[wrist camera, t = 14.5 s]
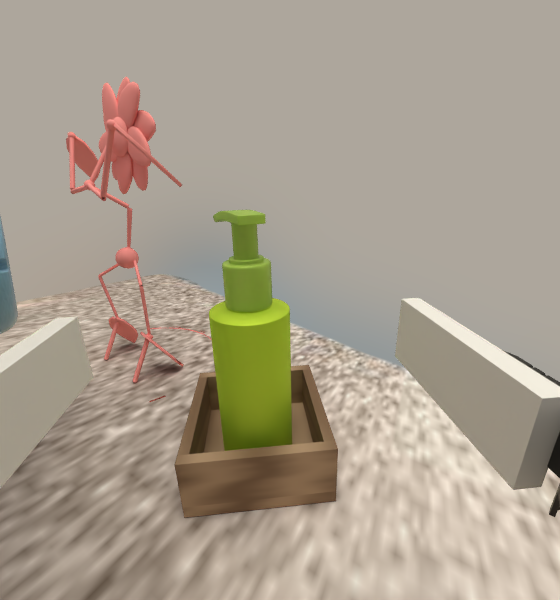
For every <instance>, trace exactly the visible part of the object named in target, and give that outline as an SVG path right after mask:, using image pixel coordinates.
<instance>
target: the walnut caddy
mask: <svg viewBox="0 0 560 600" xmlns="http://www.w3.org/2000/svg"><path fill="white" fill-rule="evenodd" d="M291 408H292V445H282V446H271V447H261V448H250V449H240V450H229V451H224V443H223V434H222V425H221V416H220V408H219V399H218V390H217V381H216V372H210V373H200V376H199V379H198V383H197V387H196V390H195V394H194V397H193V401H192V405H191V408H190V412H189V415H188V419H187V422H186V426H185V430H184V433H183V437H182V440H181V444H180V448H179V451H178V455H177V458H176V462H175V470H176V475H177V480H178V486H179V491H180V496H181V502H182V507H183V512H184V518H186V517H195V516H204V515H213V514H222V513H231V512H240V511H249V510H258V509H267V508H276V507H286V506H295V505H304V504H313V503H322V502H331V501H336V482H337V458H338V448H337V445H336V442H335V439H334V436H333V434H332V431H331V428H330V425H329V422H328V419H327V416H326V413H325V410H324V407H323V404H322V402H321V399H320V396H319V393H318V390H317V387H316V384H315V381H314V378H313V375H312V372H311V370H310V367H309V365H303V366H291Z"/></svg>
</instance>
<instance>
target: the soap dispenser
mask: <svg viewBox="0 0 560 600" xmlns="http://www.w3.org/2000/svg"><path fill="white" fill-rule="evenodd" d="M213 218H214V221H215V222H222V221H228V222H230V223H231V226H232V239H233V251H234V256H232V257H230V258H229V260H227V261H225V262H224V263H223V264H222V268H223V279H224V289H225V301H224V302H221V303H219V304H217V305H215V306H214V307H213V308H212V309H211V310H210V311H209V320H210V328H211V337H212V346H213V355H214V364H215V372H216V381H217V390H218V399H219V408H220V416H221V425H222V434H223V443H224V451H229V450H240V449H250V448H261V447H271V446H282V445H292V408H291V355H290V308H289V306H288V305H287V304H286V303H285V302H283V301H281V300H278V299H274V298H272V281H271V262H270V261H269V260H268V259H266V258H264V257H263V256H262V255H258V239H257V224H264V223H265V214H263V213H260V212H257V211H253V210H233V211H220V212H218V213H216V214H215V215H214V216H213Z"/></svg>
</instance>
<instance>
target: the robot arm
mask: <svg viewBox="0 0 560 600" xmlns="http://www.w3.org/2000/svg"><path fill="white" fill-rule="evenodd" d="M17 317H18V312H17V306H16V300H15V294H14V288H13V282H12V277H11V271H10V265H9V260H8V255H7V249H6V243H5V238H4V232H3V227H2V221H1V216H0V334H1V333H3V332H6V331H7V330H9V329H10V328H11V327H13V325H14V324H15V323H16V321H17ZM395 357H396V358H397V359H398V360H399V361H400V362H401V363H402V365H403V366H404V367H405V368H406V369H407V370H408V371H409V372H410V374H411V375H412V376H413V377H414V378H415V379H416V380H417V382H418V383H419V384H420V385H421V386H422V387H423V388H424V389H425V391H426V392H427V393H428V394H429V395H430V396H431V397H432V399H433V400H434V401H435V402H436V403H437V404H438V405H439V406H440V408H441V409H442V410H443V411H444V412H445V413H446V414H447V416H448V417H449V418H450V419H451V420H452V421H453V422H454V423H455V425H456V426H457V427H458V428H459V429H460V430H461V431H462V432H463V434H464V435H465V436H466V437H467V438H468V439H469V440H470V442H471V443H472V444H473V445H474V446H475V447H476V448H477V449H478V451H479V452H480V453H481V454H482V455H483V456H484V457H485V459H486V460H487V461H488V462H489V463H490V464H491V465H492V466H493V468H494V469H495V470H496V471H497V472H498V473H499V474H500V476H501V477H502V478H503V479H504V480H505V481H506V482H507V483H508V485H509V486H510V487H511V488H512V489H513V490H516V489H525V488H534V487H541V486H542V483H543V481H544V478H545V475H546V472H547V470H548V468H549V469H550V470H552V471H553V472H554V473H555V474H556V475H557V476H558V477H559V478H560V382H558V381H556V380H555V379H553V378H552V377H550V376H546V375H545V373H544V372H542V371H540V370H539V369H537V368H533V366H532V365H531V364H529V363H527V362H526V361H524V360H523V359H521V358H519V357H518V356H515V355H513V354H510V353H507V352H505V351H503V350H501V349H499V348H498V347H496V346H494V345H493V344H491V343H490V342H488V341H486V340H485V339H483V338H482V337H480V336H478V335H477V334H475V333H474V332H472V331H470V330H469V329H467V328H466V327H464V326H463V325H461V324H459V323H458V322H456V321H455V320H453V319H452V318H450V317H448V316H447V315H445V314H444V313H442V312H440V311H439V310H437V309H436V308H434V307H433V306H431V305H429V304H428V303H426V302H425V301H423V300H421V299H420V298H410V299H402V301H401V310H400V318H399V326H398V336H397V343H396V352H395ZM92 379H93V373H92V370H91V366H90V362H89V359H88V355H87V351H86V347H85V344H84V340H83V336H82V332H81V329H80V325H79V321H78V317H65V318H56V319H54V320H53V321H51V322H50V323H48V324H47V325H45V326H44V327H42V328H41V329H39V330H38V331H36V332H35V333H33V334H32V335H30V336H29V337H27V338H25V339H24V340H22V341H21V342H19V343H18V344H16V345H15V346H13V347H12V348H10V349H9V350H7V351H6V352H4V353H3V354H1V355H0V489H1V488H2V486H3V485H4V484H5V483H6V482H7V480H8V479H9V478H10V477H11V476H12V474H13V473H14V472H15V471H16V470H17V469H18V467H19V466H20V465H21V464H22V463H23V461H24V460H25V459H26V458H27V457H28V455H29V454H30V453H31V452H32V451H33V449H34V448H35V447H36V446H37V445H38V443H39V442H40V441H41V440H42V439H43V437H44V436H45V435H46V434H47V433H48V431H49V430H50V429H51V428H52V427H53V425H54V424H55V423H56V422H57V421H58V419H59V418H60V417H61V416H62V415H63V413H64V412H65V411H66V410H67V409H68V407H69V406H70V405H71V404H72V403H73V401H74V400H75V399H76V398H77V397H78V395H79V394H80V393H81V392H82V391H83V389H84V388H85V387H86V386H87V385H88V383H89V382H90V381H91V380H92ZM557 510H560V485H559V487H558V490H557V492H556V495H555V497H554V500H553V503H552V505H551V508H550V512H549V515H551V516H554V517H555V515H556V513H557Z"/></svg>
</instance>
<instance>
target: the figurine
mask: <svg viewBox="0 0 560 600" xmlns="http://www.w3.org/2000/svg"><path fill="white" fill-rule="evenodd" d="M139 98H140V90H139V86H138V84H137V83H135V82H131V83H130V81H129V79H128V78H127V77H125V78H124V79H123V81H122V83H121V85H120V87H119V91H118V95H117V99H116V96H115V94H114V92H113V90H112V88H111V86H110V85H109V84H108V83H105V84H104V86H103V90H102V102H103V113H104V124H105V129H106V132H105V133H104V134H103V135H102V136H101V138H100V141H99V149H100V152H101V153H102V154H101V156H100V158H99V160H97V158H96V156H95V154H94V153H93V151H92V150H91V149H90V148H89V146H88V145H87V144H86V143H85V142H84V141H83V140H81V139H79V138H78V137H77V136H76V135H75V134H74V133H73V132H69V133H68V138H67V139H66V143H67V149H68V152H69V153H70V189H71V193H72V194H75V193H77V192H81V191H84V190H87V189H88V190H92V191H93V192H94V193H95V194H96V195H97V196H98V197H99V198H100V199H102V200H103V201H106V197H107V198H109V199H111V200H113V201H114V202H116V203H118V204H120V205H121V206H123V207H125V208H127V247H125V248H122V249H120V250H119V251H118V252H117V253H116V261H117V264H116V265H114V266H112V267H111V268H109V269H108V270H106V271H104V272H103V273H101V274H99V280H100V282H101V284H102V287H103V289H104V291H105V293H106V296H107V298H108V300H109V302H110V305H111V307H112V309H113V312H114V314H115V316H116V318H114V317H112V318H110V319H109V324H110V326H111V328H112V329H113V331H112V334H111V338H110V341H109V344H108V347H107V351H106V354H105V357H104V359H105V360H108V358H109V355H110V352H111V348H112V345H113V342H114V339H115V335H116V333H118V334H119V335H120V336H122V337H124V338H126V339H127V340H129V341H131V342H133V343H135V342H136V340H137V337H138V333H137V330H136V329H135V328H134V327H133V326H132V325H130V324H129V323H128V322H126V321H125V320H123V319H121V318H119V317H118V315H117V312H116V310H115V307H114V305H113V303H112V300H111V298H110V296H109V293H108V291H107V289H106V286H105V284H104V282H103V279H102V277H101V276H103V275H104V274H106V273H108V272H109V271H111V270H113V269H114V268H116V267H118V266H119V265H120V266H121V267H123V268H133V267H135V270H136V274H137V278H138V282H139V286H140V292H141V298H142V303H143V309H144V314H145V320H146V326H147V331H148V334H146V335H145V334H144V333H143V332H141V333H140V334H141V335H142V336H144V337H145V342H144V345H143V348H142V351H141V355H140V358H139V361H138V365H137V368H136V371H135V375H134V378H133V382H137V380H138V377H139V374H140V370H141V367H142V364H143V361H144V357H145V354H146V351H147V347H148V344H149V341H150V342H151V343H152V344H154V345H155V346H156V347H157V348H159V349H160V350H161V351H162V352H164V353H165V354H166V355H168V356H169V357H170V358H172V359H173V360H174V361H175V362H177V363H178V364H179V365H181V366H182V367H183V364H182V363H181V362H179V361H178V360H177V359H176V358H174V357H173V356H172V355H171V354H169V353H168V352H167V351H166V350H164V349H163V348H162V347H161V346H159V345H158V344H157V343H156V342H154V341H153V340H152V338H153V336H152V335H151V332H150V329H159V328H150V326H149V320H148V314H147V308H146V302H145V295H144V289H143V285H142V282H141V278H140V274H139V270H138V266H137V263H138V259H139V258H138V254H137V252H136V251H134V250H133V249H132V248H130V244H131V223H132V209H131V208H129V207H128V206H129V205H128V204H127V203H124V202H123V201H121V200H119V199H117V198H115V197H113V196H111V195H110V194H107V187H108V178H109V169H110V162H111V161H112V162H113V163H112V173H113V176H114V178H115V179H116V180H118V184H119V188H120V191H121V192H122V193H123V194H126V193H127V192H128V190H129V188H130V184H131V182H132V176H133V177H134V179H135V182H136V184H137V186H138V187H139V188H140V189H141V190H146V188H147V184H148V170H147V167H148V166H150V164H151V162H152V163H154V164H155V165H156V166H157V167H158V168H159V169H160V170H162V171H163V172H164V173H165V174H166V175H167V176H168V177H169V178H170V179H172V180H173V181H174V182H175V183H176V184H177V185H178V186H180V187H181V186H182V184H181V183H180V182H179V181H178V180H177V179H175V177H174V176H172V175H171V174H170V173H169V172H168V171H167V170H166V169H165V168H164V167H163V166H162V165H161V164H160V163H159V162H158V161H157V160H156V159H155V158H153V157H152V156H151V152H150V148H149V145H148V143H147V142H148V141H149V140H150V139H151V137H152V136H153V135H154V133H155V131H156V124H155V122H154V119H153V118H152V116H151V115H150V114H149V113H148V112H146V111H143V110H139V111H138V105H139ZM103 162H104V167H103V177H102V185H101V190H100V189H98V188H97V187H95V184H94V182H95V180H96V179H97V177H98V175H99V173H100V169H101V167H102V164H103ZM75 163H76V164H77V165H78V167H79V168H81V169H82V170H83V171H84V172H85V173H86V174H87V175H88V176H89V177H91V178H90V180H87V181H85V182H84V185H83V186H80V187H77V188H75ZM171 327H172V326H171ZM173 329H183V328H181V327H179V328H173ZM184 330H189V329H184ZM190 331H194V330H190ZM195 332H197V331H195ZM201 332H202V331H201ZM198 333H200V332H198ZM203 333H205V332H203ZM203 333H201V334H203ZM203 335H205V334H203ZM205 336H206V335H205ZM207 337H208V336H207ZM210 339H211V338H210ZM211 340H212V339H211ZM163 397H166V396H162V397H160V398H163ZM160 398H157V399H160ZM157 399H154V400H151V401H149V402H152V401H155V400H157Z"/></svg>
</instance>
